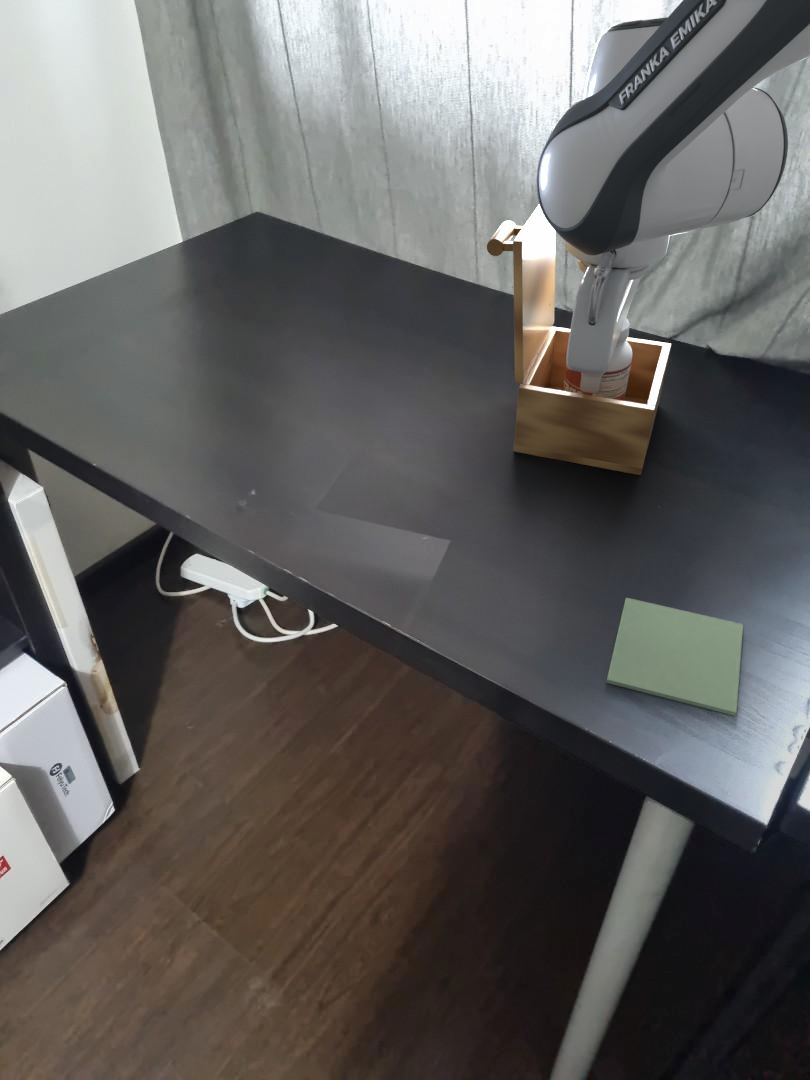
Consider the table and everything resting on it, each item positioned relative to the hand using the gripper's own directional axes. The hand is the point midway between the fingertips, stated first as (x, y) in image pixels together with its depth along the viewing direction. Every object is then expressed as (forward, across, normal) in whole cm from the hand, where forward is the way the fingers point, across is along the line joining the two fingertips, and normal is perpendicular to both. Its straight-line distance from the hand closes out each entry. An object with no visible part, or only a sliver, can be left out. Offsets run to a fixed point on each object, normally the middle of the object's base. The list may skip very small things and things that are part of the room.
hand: (597, 370), depth 82 cm
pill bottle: (+6, 0, 0) cm, 6 cm away
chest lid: (-8, 0, +6) cm, 10 cm away
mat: (+7, -29, -12) cm, 32 cm away
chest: (+7, 0, 0) cm, 7 cm away
